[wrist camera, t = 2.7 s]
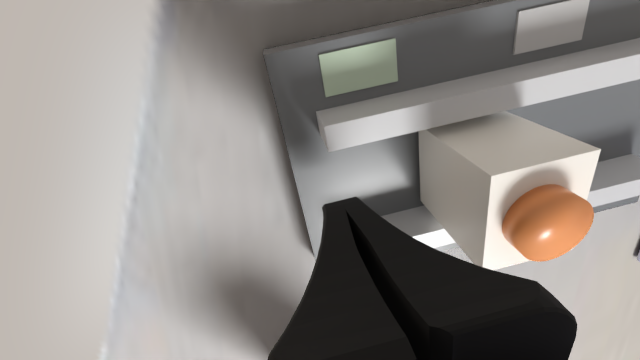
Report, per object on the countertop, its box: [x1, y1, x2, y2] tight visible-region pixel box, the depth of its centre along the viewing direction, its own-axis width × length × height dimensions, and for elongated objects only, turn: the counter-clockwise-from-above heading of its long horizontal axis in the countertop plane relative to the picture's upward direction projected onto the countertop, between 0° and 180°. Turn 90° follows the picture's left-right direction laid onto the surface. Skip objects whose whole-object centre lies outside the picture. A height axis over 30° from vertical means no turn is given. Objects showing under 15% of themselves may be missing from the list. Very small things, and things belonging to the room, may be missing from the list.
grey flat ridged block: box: [263, 0, 640, 261], centre depth 15 cm, size 19×12×4 cm, turn 101°
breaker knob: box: [418, 111, 601, 270], centre depth 12 cm, size 4×4×6 cm
